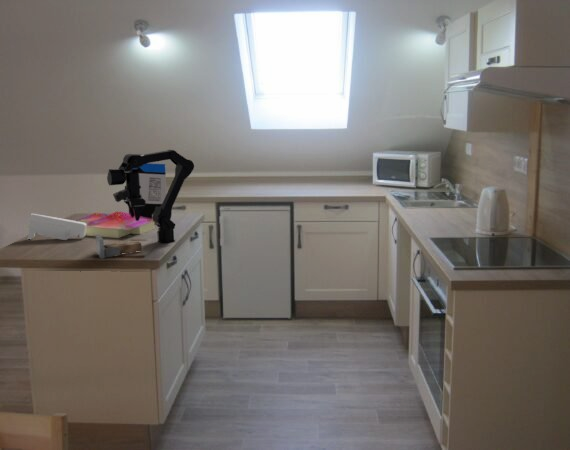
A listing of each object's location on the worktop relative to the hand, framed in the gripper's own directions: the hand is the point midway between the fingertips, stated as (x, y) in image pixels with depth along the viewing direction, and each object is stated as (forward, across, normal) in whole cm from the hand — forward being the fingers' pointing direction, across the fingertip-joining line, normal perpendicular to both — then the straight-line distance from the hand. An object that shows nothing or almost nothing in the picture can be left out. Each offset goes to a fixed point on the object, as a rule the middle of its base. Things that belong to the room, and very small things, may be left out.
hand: (134, 218), depth 275 cm
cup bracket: (+12, +11, -13) cm, 21 cm away
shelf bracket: (+12, -29, -30) cm, 43 cm away
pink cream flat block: (+12, -36, -5) cm, 38 cm away
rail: (+12, +11, -8) cm, 18 cm away
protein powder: (+12, -54, +18) cm, 58 cm away
